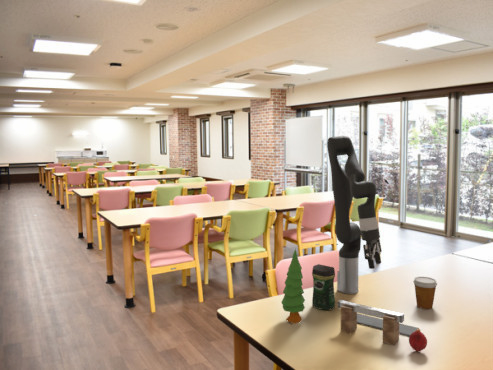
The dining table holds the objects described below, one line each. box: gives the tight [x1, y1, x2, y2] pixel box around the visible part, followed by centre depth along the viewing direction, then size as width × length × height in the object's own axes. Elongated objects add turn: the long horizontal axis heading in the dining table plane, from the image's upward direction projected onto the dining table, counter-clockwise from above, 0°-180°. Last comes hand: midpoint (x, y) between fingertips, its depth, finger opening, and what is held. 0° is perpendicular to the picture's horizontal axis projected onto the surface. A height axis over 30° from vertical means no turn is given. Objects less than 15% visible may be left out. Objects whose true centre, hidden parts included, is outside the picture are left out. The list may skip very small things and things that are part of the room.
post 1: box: [340, 305, 358, 334], centre depth 158 cm, size 4×6×10 cm, turn 143°
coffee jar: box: [311, 263, 336, 311], centre depth 180 cm, size 10×8×19 cm
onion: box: [408, 328, 428, 353], centre depth 140 cm, size 6×6×8 cm
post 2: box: [382, 315, 400, 346], centre depth 148 cm, size 4×6×10 cm, turn 143°
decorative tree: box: [281, 248, 306, 324], centre depth 166 cm, size 10×9×30 cm
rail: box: [337, 299, 405, 324], centre depth 153 cm, size 24×3×3 cm, turn 53°
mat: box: [357, 313, 420, 337], centre depth 162 cm, size 28×8×1 cm, turn 53°
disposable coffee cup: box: [413, 276, 438, 310], centre depth 179 cm, size 10×10×12 cm
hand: (375, 265), depth 174 cm, fingers open, 8 cm apart
